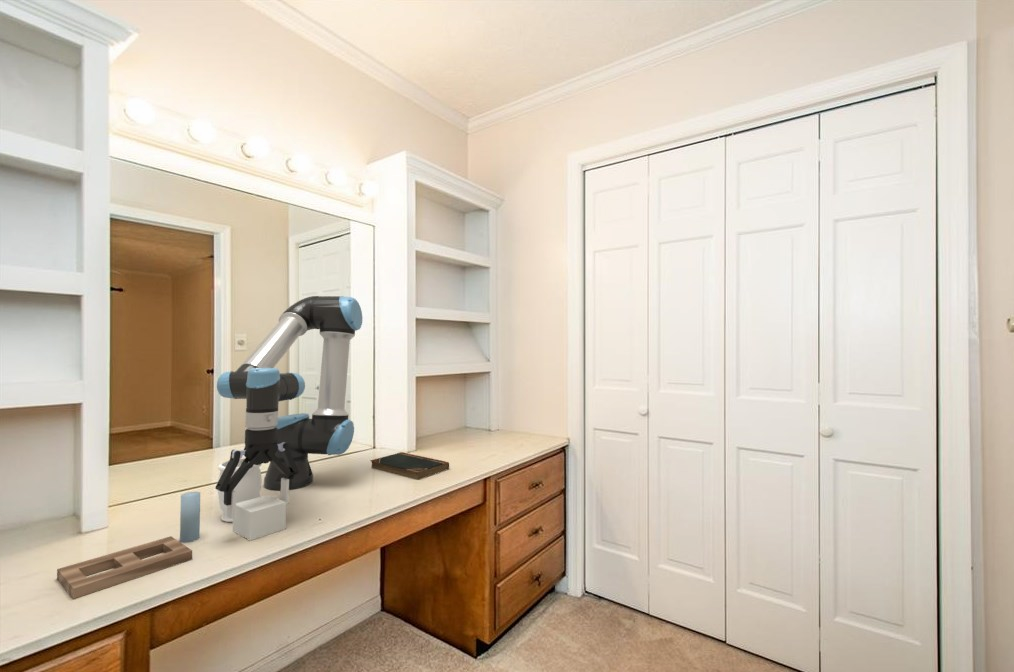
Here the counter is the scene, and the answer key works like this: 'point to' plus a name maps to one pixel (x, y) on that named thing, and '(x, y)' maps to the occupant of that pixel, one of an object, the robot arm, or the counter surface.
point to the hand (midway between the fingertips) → (258, 510)
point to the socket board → (122, 566)
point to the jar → (242, 487)
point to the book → (409, 465)
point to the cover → (259, 517)
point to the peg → (190, 517)
